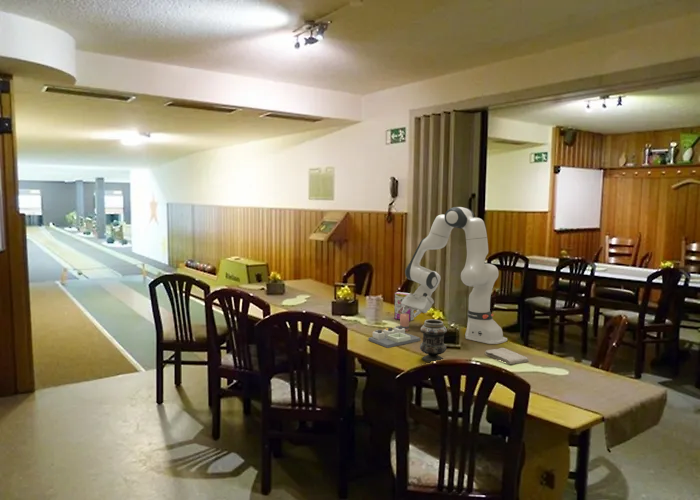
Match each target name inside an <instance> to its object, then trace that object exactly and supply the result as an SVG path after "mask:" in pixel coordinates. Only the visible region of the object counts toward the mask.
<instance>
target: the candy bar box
mask: <svg viewBox="0 0 700 500" xmlns="http://www.w3.org/2000/svg"><path fill="white" fill-rule="evenodd" d="M408 294H411V293H409V292H403V291H402V292H401V291H396V292H394V320H399V321H400V314H403V313H402V310H403V306H402V305H401V301H402V300H403V299H404V298H405V297H406V296H407V295H408ZM414 311H415V310H412V309H409V308H407V309H406V313H405V314H409V322H412V321H413V320H414V319H415V317H413V316H412V315H413V313H415V312H414Z"/></svg>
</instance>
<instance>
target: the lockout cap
mask: <svg viewBox="0 0 700 500" xmlns="http://www.w3.org/2000/svg"><path fill="white" fill-rule="evenodd" d="M399 326H402V328H404V329H405V332H408V331H410V321H409V314H405V313H404V314H400V320H399Z"/></svg>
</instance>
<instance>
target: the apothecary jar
mask: <svg viewBox="0 0 700 500" xmlns="http://www.w3.org/2000/svg"><path fill="white" fill-rule="evenodd" d="M447 331H448V329H447V328H446V326H445V325H444V321H442V320H440V319H432V318H431V319H425V320H424V324H423V325H421V327H420V332H421V334H422V336H423V337H422V342H421V343H420V345H419V349H420V351H421V352H422V353H424V354H426V355H424V356H422V357H421V360H422V361H424V362H427V363H431V361H436V360H441V359H444V357H443V356H441V355H442V354H444V353H445V352H446V351H447V345H446V344H445V343H444V342H445V341H444V340H445V335H446V333H447Z"/></svg>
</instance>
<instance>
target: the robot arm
mask: <svg viewBox="0 0 700 500" xmlns="http://www.w3.org/2000/svg"><path fill="white" fill-rule="evenodd" d="M454 228H456V229H462V230H463V231H464V234H465V242H466V243H465V244H466V245H465V247H466V260H465V263H464V264H465V265H464V267H463V269H462V270H461V272H460V280H461V282H462V284H464V285H465V286H467V287H473V288H472V289H471V292H470V293H469V296H468V310H467V324H466V326H467V327H466V329H465V334H464V336H465V339H466V340H470V341H475V342H478V343H483V344H488V345H498V344H502V343H505V342H507V341H508V337H505V336H504V332H503V329H502V327H501V326H500V325H499V324H498V323H497V322H496V321H495V320H494V319H493V317H494V316H495V314H494V313H492V312H491V310H490V309H491V297H492V296H491V295H492V292H493V287H494V285H495V283H496V281H497V280H498V278H499V273H500V272H499V269H498V267H497V266H496V265H494V264H492V263H485V262H486V257H487V256H488V254H489V243H488V242H489V241H488V234H487V228H486V224H485V221H484V220H483V219H482V218H480V217H475V214H474V212H473V210H471V209H470V208H469V207H468V208H467V207H462V206H454V207H451V208H449V209H447V210H446V212H445V214H443V213H442V214H439V215H436V217H435V219H434V220H433V223H432V225H431V228H430V231H429V233H428V235H427V236H426V237H425V238H422V240H421V241H420V242H419V244H418V245H417V247H416V250H415V252H414V253H413V256H412V258H411V260H410V262H409V263H408V264H407V266H406V268H405V271H404V274H405V277H406V278H407V280H409V281H412V282H415V283H418V284H419V286H418V287H417V289H416V290H415V291H414V292H413V293H411V294H408V295H407V296H406V297H405V298H404V299H403V300H402V301H401V305H402V306H403V310H402V313H403V314H404V313H406V309H407V308H409V309H412V310H414V311H415V312H414V313H413V315H412V316H413V317H414V318H417V316H419V315H420V314H421V313H423V314H427V313H428V312H429V311H430V309H431V308H432V306H433V304H434V303H435V300H434V299H433V298H432V294H433V293H434V291H436V290H437V288H438V287H439V284H440V282H441V278H442V277H441V274H439V273H438V271H436V270H431V269H429V268H427V267H424V266H421V264H420V263H421V262H422V261H421V260H422V259H423V256H424V255H425V252H427V251H429V250H433V251H434V250H441V249H443V248H445V247H446V246H447V245H448V242H449V240H450V235H451V233H452V230H453V229H454ZM428 310H429V311H428ZM427 311H428V312H427Z"/></svg>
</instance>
